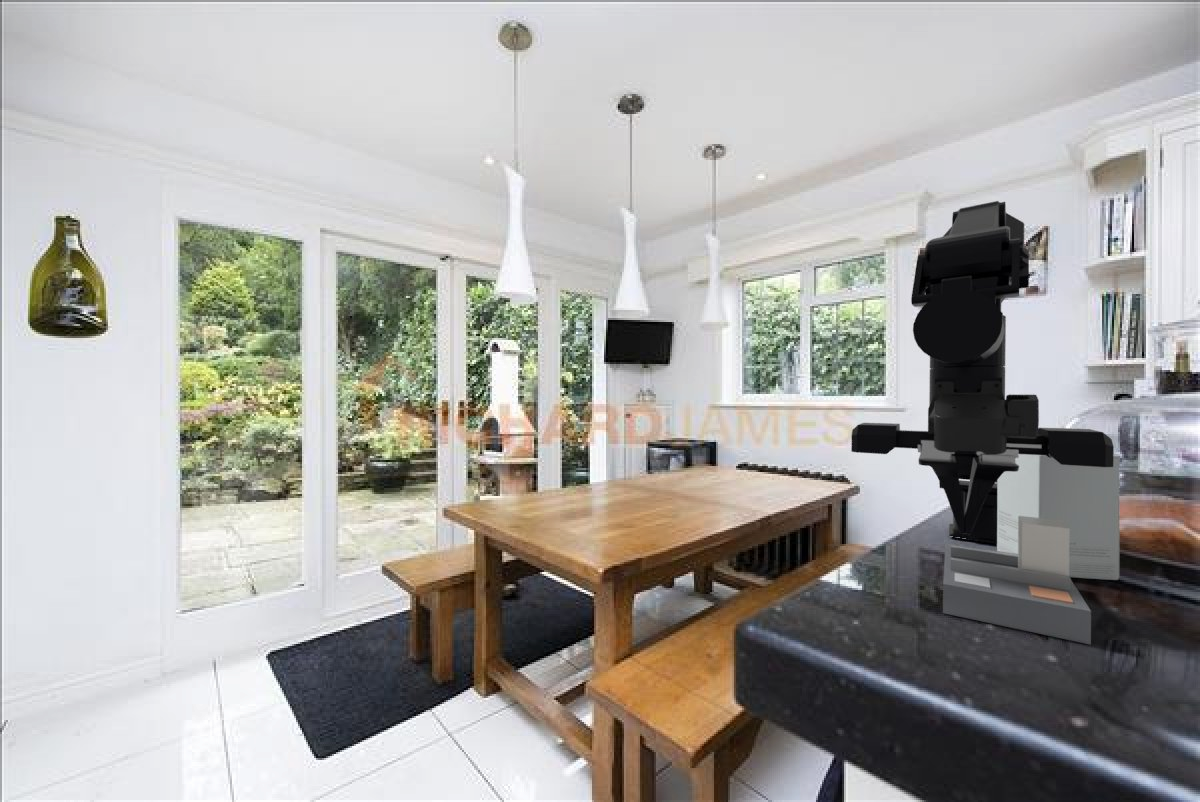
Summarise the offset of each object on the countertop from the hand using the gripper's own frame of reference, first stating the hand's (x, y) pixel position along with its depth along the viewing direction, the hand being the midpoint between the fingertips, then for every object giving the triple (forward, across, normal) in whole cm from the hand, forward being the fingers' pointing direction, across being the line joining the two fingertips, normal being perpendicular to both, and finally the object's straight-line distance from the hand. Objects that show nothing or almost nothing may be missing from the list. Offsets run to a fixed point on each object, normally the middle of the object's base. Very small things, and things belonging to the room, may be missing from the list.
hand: (964, 532), depth 46 cm
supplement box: (+6, +8, +14) cm, 17 cm away
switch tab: (+3, +6, 0) cm, 6 cm away
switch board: (+6, +3, 0) cm, 6 cm away
